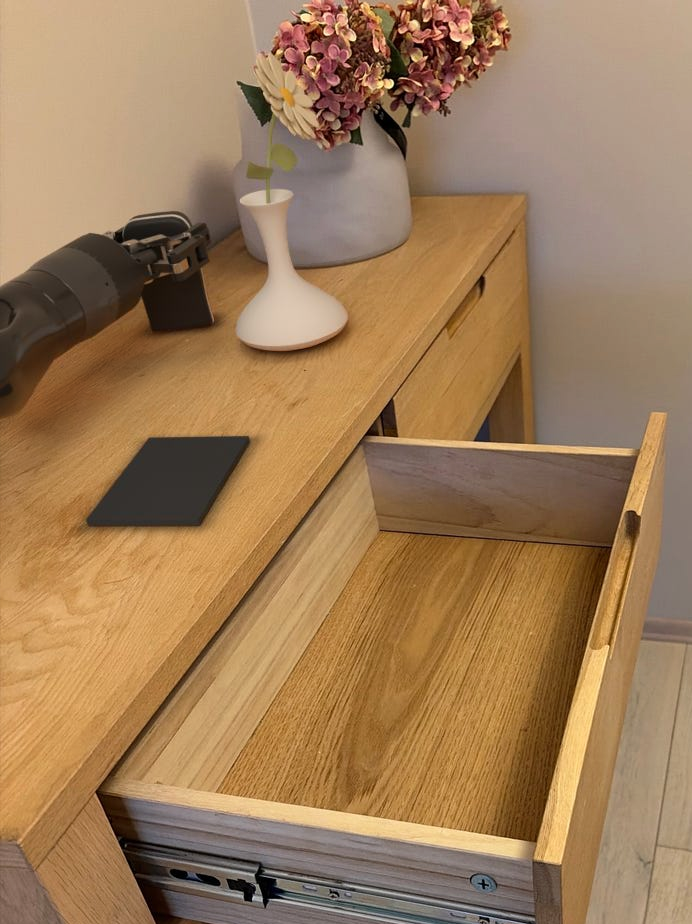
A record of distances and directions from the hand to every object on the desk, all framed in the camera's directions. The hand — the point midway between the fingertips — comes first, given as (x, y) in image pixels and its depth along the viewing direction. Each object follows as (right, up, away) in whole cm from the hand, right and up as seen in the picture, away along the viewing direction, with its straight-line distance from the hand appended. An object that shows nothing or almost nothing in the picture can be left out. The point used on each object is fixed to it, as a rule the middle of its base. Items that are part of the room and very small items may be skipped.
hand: (172, 232), depth 102 cm
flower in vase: (+13, -11, -1) cm, 17 cm away
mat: (+7, -30, -22) cm, 38 cm away
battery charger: (0, -8, +4) cm, 9 cm away
